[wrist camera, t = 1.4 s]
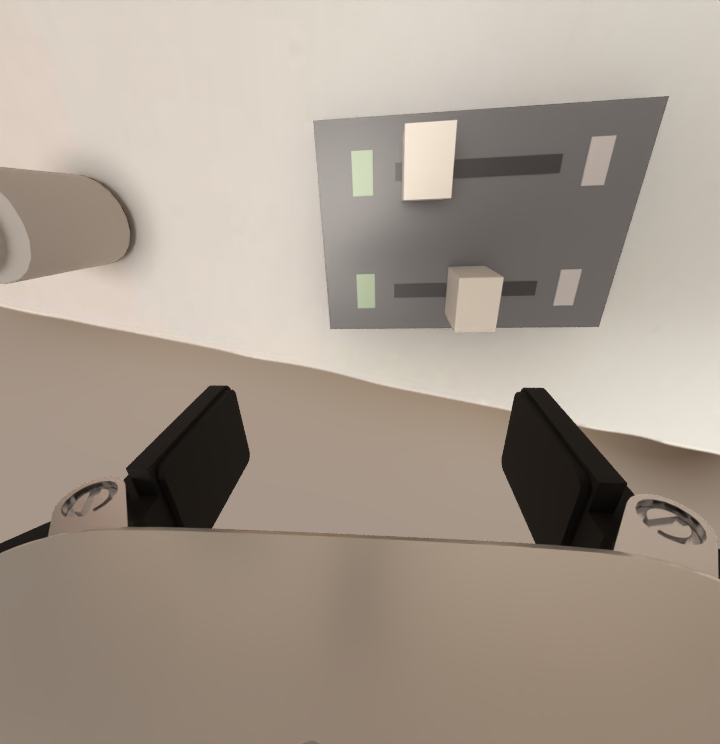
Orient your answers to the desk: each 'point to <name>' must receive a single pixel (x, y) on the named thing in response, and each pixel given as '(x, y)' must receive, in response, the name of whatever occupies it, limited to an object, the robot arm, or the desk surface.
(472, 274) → the white slider handle
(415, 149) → the block
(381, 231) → the slider switch panel
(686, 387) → the desk surface
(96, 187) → the can
